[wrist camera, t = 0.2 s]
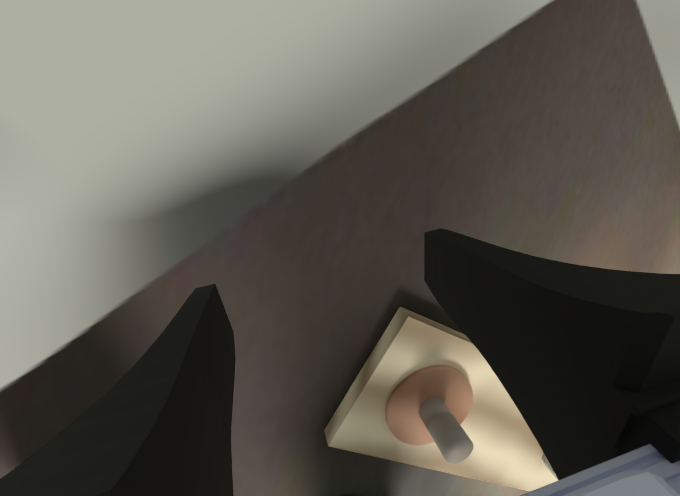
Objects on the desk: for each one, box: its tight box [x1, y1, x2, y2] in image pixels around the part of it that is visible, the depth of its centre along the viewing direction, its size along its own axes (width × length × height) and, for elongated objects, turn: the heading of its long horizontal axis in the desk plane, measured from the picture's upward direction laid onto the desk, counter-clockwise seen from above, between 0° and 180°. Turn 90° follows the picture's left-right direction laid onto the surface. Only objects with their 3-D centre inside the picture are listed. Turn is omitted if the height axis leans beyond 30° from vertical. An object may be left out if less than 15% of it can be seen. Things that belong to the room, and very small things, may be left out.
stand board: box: [324, 307, 558, 491], centre depth 29 cm, size 12×30×6 cm, turn 60°
